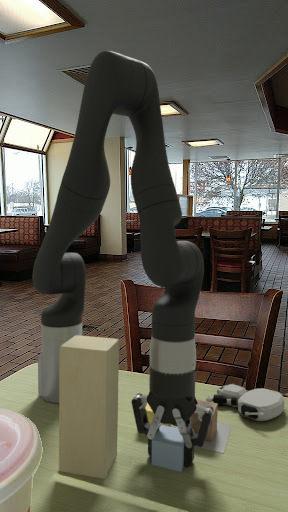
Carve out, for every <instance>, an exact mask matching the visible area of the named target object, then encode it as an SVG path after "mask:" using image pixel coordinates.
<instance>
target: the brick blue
mask: <svg viewBox="0 0 288 512" xmlns="http://www.w3.org/2000/svg"><path fill="white" fill-rule="evenodd" d="M184 446H185V443H184V440H183V437H182V435H181V434H180V432H179V429H178V428H176V427H175V426H170V425H169V426H165V425H161V426H160V428H159V430H158V431H157V433H156V434H155V436H154V438H153V439H152V459H151V465H152V466H156V467H160V468H163V469H168V470H171V471H175V472H178V473H182V472H183V469H184V467H183V465H184Z"/></svg>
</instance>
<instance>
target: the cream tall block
mask: <svg viewBox="0 0 288 512" xmlns="http://www.w3.org/2000/svg"><path fill="white" fill-rule="evenodd" d="M119 360H120V340H119V339H118V338H112V337H111V338H109V337H99V336H88V335H82V336H80V335H76V336H74V337H73V338H71V339H70V340H68V341H67V342H66V343H64V344H63V345H61V346H60V369H59V403H58V404H59V406H58V407H59V409H58V418H59V419H58V424H59V425H58V427H59V428H58V471H59V472H63V473H68V474H74V475H78V476H79V475H80V476H86V477H92V478H96V479H106V477H107V475H108V474H109V472H110V470H111V467H112V465H113V463H114V461H115V459H116V457H117V455H118V429H119V428H118V426H119V425H118V423H119V418H118V417H119V375H120V374H119V369H120V368H119V367H120V366H119V365H120V364H119V363H120V361H119ZM59 475H61V476H65V477H67V475H66V474H61V473H59Z"/></svg>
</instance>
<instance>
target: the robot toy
mask: <svg viewBox="0 0 288 512" xmlns="http://www.w3.org/2000/svg"><path fill="white" fill-rule="evenodd" d="M216 393H217V394H214V395H213V396H211V395H207V396H206V398H205V401H206V402H212V403H217V404H218V406H223V405H228V406H231V407H234V408H238V409H237V410H238V413H239V414H240V415H241V417H242V416H243V417H245V418H247V419H248V418H249V419H251V420H254V421H257V422H264V421H266V422H267V421H269V420H272V419H274V418H276V417H278V416H280V415H281V414H282V413H283V412H284V410H285V397H288V393H280V392H279V391H276V390H271V389H267V388H263V387H262V388H254V389H251V390H247V389H246V388H245V387H243V386H242V385H240V384H239V383H231V384H230V383H229V384H227V385H222V386H221V387H218V388H217V391H216ZM284 396H285V397H284Z"/></svg>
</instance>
